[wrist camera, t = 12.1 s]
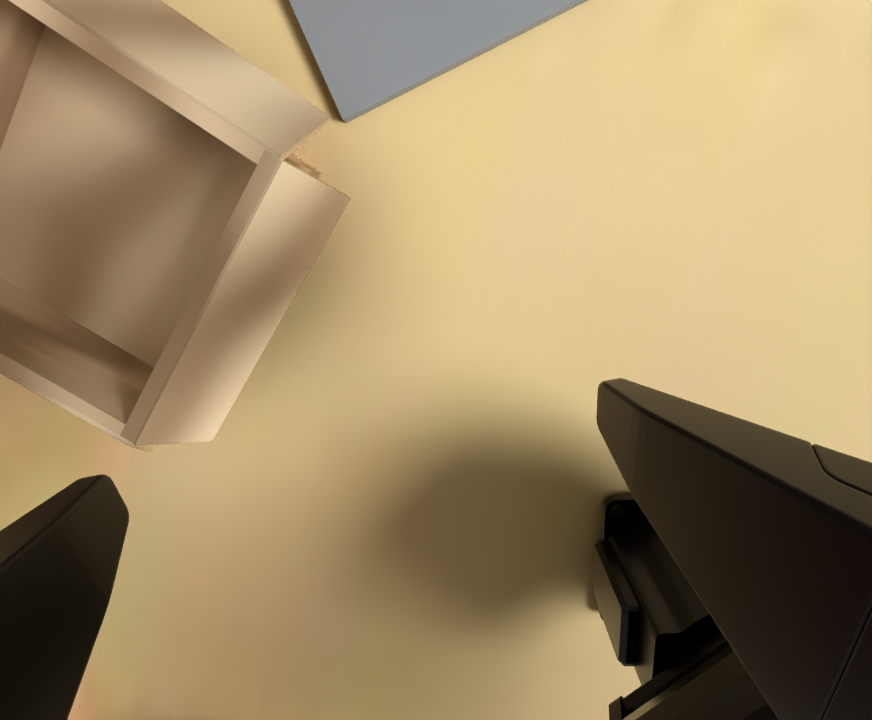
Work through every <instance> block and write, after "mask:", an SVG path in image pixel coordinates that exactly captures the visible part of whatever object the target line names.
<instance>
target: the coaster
mask: <svg viewBox="0 0 872 720" xmlns="http://www.w3.org/2000/svg"><path fill="white" fill-rule="evenodd" d="M585 1H587V0H289V2H290V4H291V6H292V8H293V11H294V13H295V15H296V17H297V20H298V22H299V24H300V26H301V28H302V31H303V33H304V35H305V37H306V40H307V42H308V44H309V46H310V48H311V51H312V53H313V55H314V57H315V60H316V62H317V64H318V66H319V68H320V71H321V73H322V75H323V77H324V79H325V82H326V84H327V86H328V88H329V91H330V93H331V95H332V97H333V99H334V102H335V104H336V106H337V108H338V111H339V113H340V115H341V117H342V119H343V121H345V122H346V123H347V122H349V121H351V120H353V119H355V118H357V117H359V116H361V115H363V114H365V113H367V112H369V111H371V110H373V109H375V108H377V107H379V106H381V105H382V104H384V103H386V102H388V101H390V100H392V99H394V98H396V97H398V96H400V95H402V94H404V93H406V92H408V91H410V90H412V89H414V88H416V87H418V86H420V85H422V84H424V83H426V82H428V81H430V80H432V79H434V78H436V77H438V76H440V75H442V74H444V73H446V72H448V71H449V70H451V69H453V68H455V67H457V66H459V65H461V64H463V63H465V62H467V61H469V60H471V59H473V58H475V57H477V56H479V55H481V54H483V53H485V52H487V51H489V50H491V49H493V48H495V47H497V46H499V45H501V44H503V43H505V42H507V41H509V40H511V39H513V38H515V37H517V36H518V35H520V34H522V33H524V32H526V31H528V30H530V29H532V28H534V27H536V26H538V25H540V24H542V23H544V22H546V21H548V20H550V19H552V18H554V17H556V16H558V15H560V14H562V13H564V12H566V11H568V10H570V9H572V8H574V7H576V6H578V5H580V4H582V3H584V2H585Z"/></svg>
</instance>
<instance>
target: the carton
mask: <svg viewBox="0 0 872 720" xmlns="http://www.w3.org/2000/svg"><path fill="white" fill-rule="evenodd" d="M330 118H331V117H330V116H328V115H327V114H325V113H324V112H322V111H321V110H320V109H318V108H317V107H315V106H314V105H312V104H311V103H309V102H308V101H306V100H305V99H304V98H302V97H301V96H299V95H298V94H296V93H295V92H293V91H292V90H290V89H289V88H287V87H286V86H285V85H283V84H282V83H280V82H279V81H277V80H276V79H274V78H273V77H271V76H270V75H269V74H267V73H266V72H264V71H263V70H261V69H260V68H258V67H257V66H255V65H254V64H252V63H251V62H250V61H248V60H247V59H245V58H244V57H242V56H241V55H239V54H238V53H236V52H235V51H234V50H232V49H231V48H229V47H228V46H226V45H225V44H223V43H222V42H220V41H219V40H217V39H216V38H215V37H213V36H212V35H210V34H209V33H207V32H206V31H204V30H203V29H201V28H200V27H199V26H197V25H196V24H194V23H193V22H191V21H190V20H188V19H187V18H185V17H184V16H182V15H181V14H180V13H178V12H177V11H175V10H174V9H172V8H171V7H169V6H168V5H166V4H165V3H164V2H162V1H161V0H0V373H1V374H3V375H4V376H6V377H8V378H10V379H12V380H13V381H15V382H17V383H19V384H20V385H22V386H24V387H26V388H27V389H29V390H31V391H33V392H34V393H36V394H38V395H40V396H41V397H43V398H45V399H47V400H49V401H50V402H52V403H54V404H56V405H57V406H59V407H61V408H63V409H64V410H66V411H68V412H70V413H71V414H73V415H75V416H77V417H78V418H80V419H82V420H84V421H86V422H87V423H89V424H91V425H93V426H94V427H96V428H98V429H100V430H101V431H103V432H105V433H107V434H108V435H110V436H112V437H114V438H115V439H117V440H119V441H121V442H122V443H124V444H126V445H128V446H130V447H133V448H137V449H141V450H145V451H149V452H152V451H153V450H154V449H155V447H156V445H158V444H174V443H190V442H207V441H212V440H213V439H214V437H215V435H216V433H217V432H218V430H219V428H220V426H221V425H222V423H223V421H224V419H225V418H226V416H227V414H228V412H229V411H230V409H231V407H232V405H233V404H234V402H235V400H236V398H237V397H238V395H239V393H240V391H241V390H242V388H243V386H244V384H245V383H246V381H247V379H248V377H249V376H250V374H251V372H252V370H253V369H254V367H255V365H256V363H257V362H258V360H259V358H260V356H261V354H262V353H263V351H264V349H265V347H266V346H267V344H268V342H269V340H270V339H271V337H272V335H273V333H274V332H275V330H276V328H277V326H278V325H279V323H280V321H281V319H282V318H283V316H284V314H285V312H286V311H287V309H288V307H289V305H290V304H291V302H292V300H293V298H294V297H295V295H296V293H297V291H298V290H299V288H300V286H301V284H302V283H303V281H304V279H305V277H306V276H307V274H308V272H309V270H310V269H311V267H312V265H313V263H314V262H315V260H316V258H317V256H318V255H319V253H320V251H321V249H322V248H323V246H324V244H325V242H326V240H327V239H328V237H329V235H330V233H331V232H332V230H333V228H334V226H335V225H336V223H337V221H338V219H339V218H340V216H341V214H342V212H343V211H344V209H345V207H346V205H347V204H348V202H349V200H350V197H348V196H347V195H346V194H344V193H342V192H340V191H338V190H337V189H335V188H333V187H331V186H329V185H327V184H326V183H324V182H322V181H320V180H318V177H319V175H320V172H319V171H317V170H316V169H314V168H313V167H311V166H310V165H308V164H307V163H305V162H304V161H302V160H301V159H299V158H298V157H296V156H295V155H293V154H292V153H293V152H294V151H296V150H297V149H298V148H299V147H301V146H302V145H303V144H305V143H306V142H307V141H308V140H310V139H311V138H312V137H314V136H315V135H316V134H317V133H319V132H320V131H321V130H323V129H324V128H325V127H326V126H328V125H329V121H330Z"/></svg>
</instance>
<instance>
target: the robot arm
mask: <svg viewBox="0 0 872 720" xmlns="http://www.w3.org/2000/svg"><path fill="white" fill-rule="evenodd" d="M597 424H598V428H599V430H600V432H601V434H602V436H603V438H604V440H605V442H606V444H607V446H608V448H609V450H610V452H611V454H612V456H613V458H614V460H615V462H616V464H617V466H618V468H619V470H620V472H621V474H622V476H623V478H624V480H625V482H626V484H627V486H628V488H629V490H630V492H631V494H632V495H611V496H609V497H607V498H606V499H605V500H604V502H603V508H602V531H601V540H598V541H597V542H596V544H595V545H594V560H593V585H592V589H593V593H594V596H595V598H596V601H597V604H598V610H599V613H600V616H601V618H602V620H603V621H604V623H605V626H606V629H607V632H608V634H609V637H610V640H611V643H612V645H613V648H614V651H615V654H616V656H617V659H618V661H619V662H620V663H621V664H622V665H623V666H634V667H635V670H636V673H637V675H638V678H639V680H640V683H641V685H642V686H640V687H639V688H637V689H636V690H635V691H633V692H632V693H630V694H629V695H628V696H626V697H625V698H623V697H622V696H620V697H619V698H617V699H616V700H615V701H613V702H612V703H610V704H609V719H610V720H872V463H871V462H868V461H865V460H862V459H859V458H856V457H852V456H849V455H846V454H843V453H840V452H837V451H834V450H831V449H828V448H826V447H823V446H820V445H817V444H814V445H811V443H810V442H808V441H805V440H802V439H799V438H796V437H793V436H790V435H787V434H784V433H781V432H778V431H775V430H772V429H769V428H766V427H764V426H761V425H758V424H755V423H752V422H749V421H746V420H743V419H740V418H737V417H734V416H731V415H728V414H725V413H722V412H719V411H716V410H714V409H711V408H708V407H705V406H702V405H699V404H696V403H693V402H690V401H687V400H684V399H681V398H678V397H675V396H672V395H669V394H666V393H664V392H661V391H658V390H655V389H652V388H649V387H646V386H643V385H640V384H637V383H634V382H631V381H628V380H625V379H622V378H618V379H612V380H607V381H603V382H601V383H600V384H599V387H598V397H597ZM614 505H620V506H619V508H618V509H616V510H611V508H612V507H613V506H614ZM128 523H129V513H128V509H127V507H126V505H125V503H124V501H123V499H122V497H121V496H120V494H119V492H118V490H117V488H116V486H115V484H114V483H113V481H112V479H111V478H110V477H109V476H107V475H96V476H91V477H85V478H81V479H79V480H77V481H75V482H74V483H72V484H71V485H69V486H68V487H66V488H65V489H63V490H62V491H60V492H59V493H57V494H56V495H54V496H52V497H51V498H49V499H48V500H46V501H45V502H43V503H42V504H40V505H39V506H37V507H36V508H34V509H33V510H31V511H30V512H28V513H27V514H25V515H24V516H22V517H21V518H19V519H18V520H16V521H15V522H13V523H12V524H10V525H9V526H7V527H6V528H4V529H2V530H1V531H0V720H67V719H68V716H69V714H70V711H71V708H72V705H73V702H74V700H75V697H76V694H77V691H78V689H79V686H80V683H81V680H82V677H83V675H84V672H85V669H86V666H87V663H88V661H89V658H90V655H91V652H92V650H93V647H94V644H95V641H96V638H97V636H98V633H99V630H100V627H101V625H102V622H103V619H104V616H105V613H106V610H107V607H108V604H109V600H110V597H111V593H112V589H113V585H114V581H115V577H116V573H117V569H118V565H119V560H120V556H121V552H122V548H123V544H124V540H125V536H126V531H127V527H128Z"/></svg>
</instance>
